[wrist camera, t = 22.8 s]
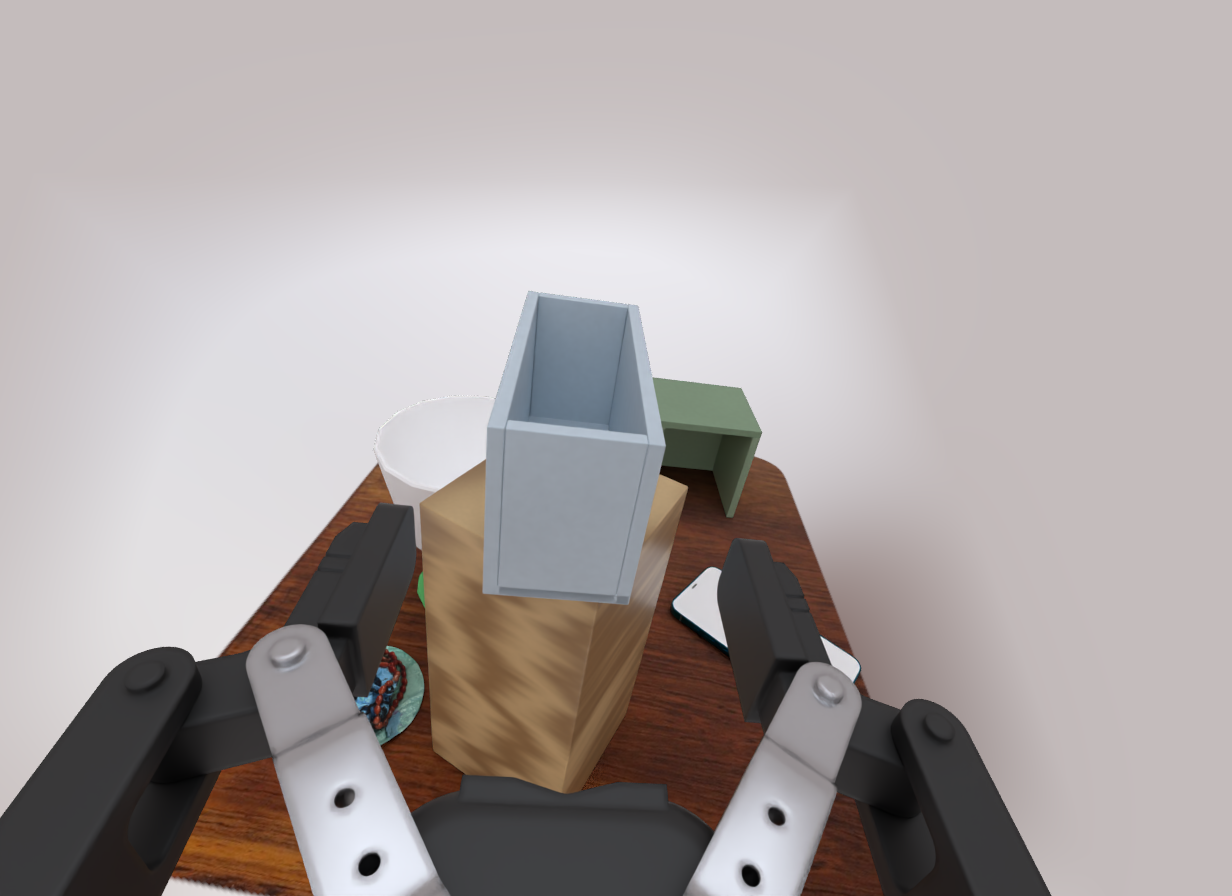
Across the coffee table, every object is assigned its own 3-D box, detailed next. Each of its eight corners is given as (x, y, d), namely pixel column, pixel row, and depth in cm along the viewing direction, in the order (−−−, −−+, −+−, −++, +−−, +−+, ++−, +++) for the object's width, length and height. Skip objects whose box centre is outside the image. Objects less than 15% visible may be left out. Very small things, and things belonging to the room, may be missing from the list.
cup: (550, 539, 58) (566, 405, 49) (536, 653, 46) (553, 504, 38) (414, 525, 56) (405, 385, 48) (365, 639, 45) (341, 482, 36)
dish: (264, 665, 39) (354, 621, 38) (339, 656, 46) (417, 619, 45) (284, 787, 36) (382, 743, 35) (360, 759, 43) (444, 721, 42)
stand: (626, 713, 43) (689, 486, 31) (552, 838, 35) (598, 600, 23) (520, 649, 46) (540, 421, 34) (432, 750, 39) (418, 502, 27)
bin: (628, 605, 23) (666, 445, 19) (482, 594, 23) (486, 426, 18) (616, 429, 35) (638, 305, 31) (519, 418, 34) (528, 290, 30)
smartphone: (860, 669, 50) (709, 569, 57) (864, 663, 49) (711, 562, 57) (827, 732, 44) (664, 612, 52) (831, 725, 44) (666, 605, 51)
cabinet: (733, 517, 65) (762, 432, 59) (639, 509, 64) (659, 420, 57) (717, 467, 73) (741, 388, 67) (634, 459, 72) (651, 377, 66)
